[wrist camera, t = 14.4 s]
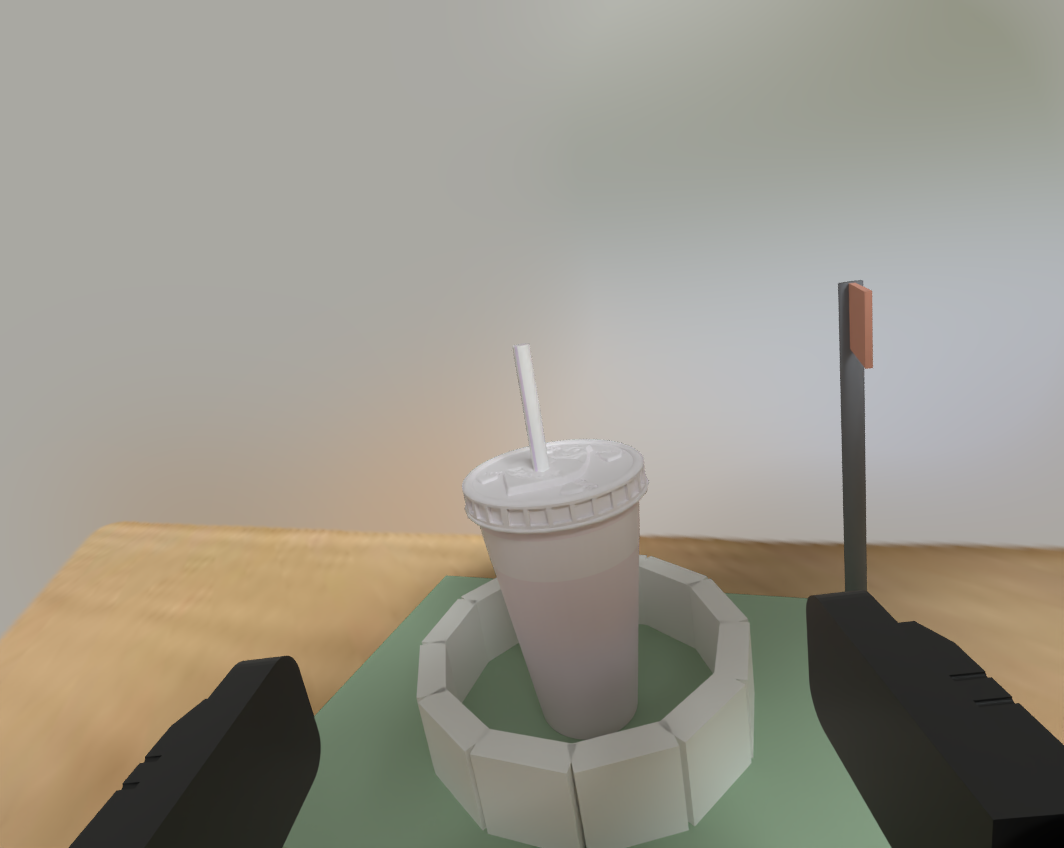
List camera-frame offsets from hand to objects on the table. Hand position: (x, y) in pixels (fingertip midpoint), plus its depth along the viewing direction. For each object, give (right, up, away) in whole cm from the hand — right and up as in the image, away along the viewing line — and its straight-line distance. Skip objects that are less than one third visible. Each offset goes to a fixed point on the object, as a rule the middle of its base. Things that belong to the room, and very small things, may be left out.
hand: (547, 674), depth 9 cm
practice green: (+2, -8, +13) cm, 16 cm away
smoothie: (+2, -7, +13) cm, 15 cm away
